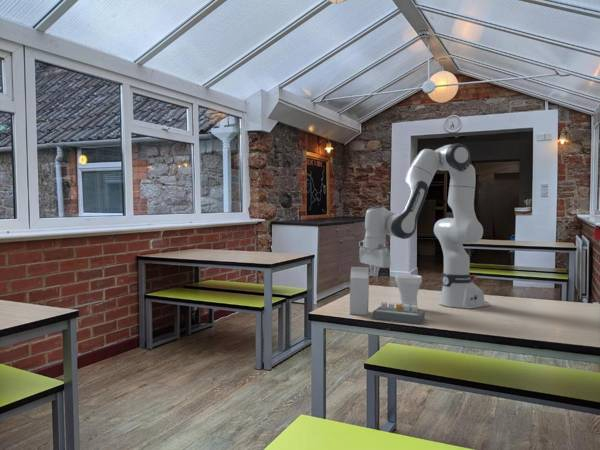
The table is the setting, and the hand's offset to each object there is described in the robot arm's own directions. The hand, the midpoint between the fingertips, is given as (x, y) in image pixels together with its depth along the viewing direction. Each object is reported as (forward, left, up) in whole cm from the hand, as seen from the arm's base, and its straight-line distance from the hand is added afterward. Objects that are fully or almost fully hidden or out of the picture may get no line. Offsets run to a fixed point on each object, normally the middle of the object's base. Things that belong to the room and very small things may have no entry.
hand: (374, 275), depth 210 cm
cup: (-14, +6, -14) cm, 21 cm away
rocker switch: (0, +20, -11) cm, 22 cm away
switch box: (+1, +20, -14) cm, 24 cm away
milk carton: (+10, +6, -14) cm, 19 cm away
